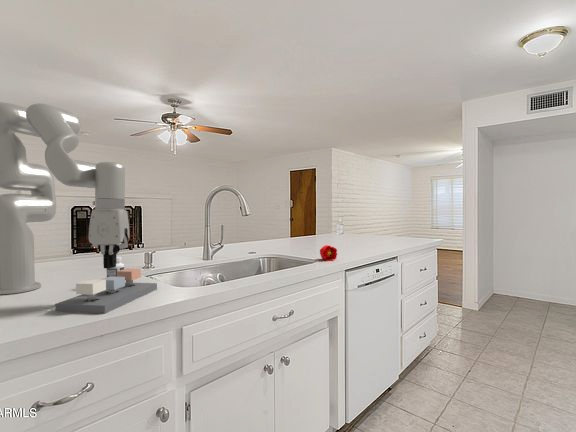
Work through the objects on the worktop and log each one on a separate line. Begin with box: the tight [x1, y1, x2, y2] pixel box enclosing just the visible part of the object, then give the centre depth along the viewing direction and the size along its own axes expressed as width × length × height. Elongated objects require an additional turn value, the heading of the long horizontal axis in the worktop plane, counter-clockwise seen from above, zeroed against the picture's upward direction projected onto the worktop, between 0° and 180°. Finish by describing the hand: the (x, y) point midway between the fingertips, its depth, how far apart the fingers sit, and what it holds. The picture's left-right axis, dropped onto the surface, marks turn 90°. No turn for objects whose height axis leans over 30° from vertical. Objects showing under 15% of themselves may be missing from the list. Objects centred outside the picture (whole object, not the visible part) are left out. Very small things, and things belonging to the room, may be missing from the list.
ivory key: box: [75, 279, 106, 301], centre depth 83 cm, size 5×5×5 cm
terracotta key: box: [117, 268, 142, 286], centre depth 99 cm, size 5×5×5 cm
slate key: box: [99, 276, 126, 294], centre depth 91 cm, size 5×5×5 cm
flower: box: [319, 244, 338, 262], centre depth 160 cm, size 8×8×8 cm
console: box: [54, 281, 158, 314], centre depth 91 cm, size 14×24×2 cm, turn 172°
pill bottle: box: [105, 256, 125, 278], centre depth 108 cm, size 5×5×10 cm
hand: (109, 267), depth 91 cm, fingers closed
